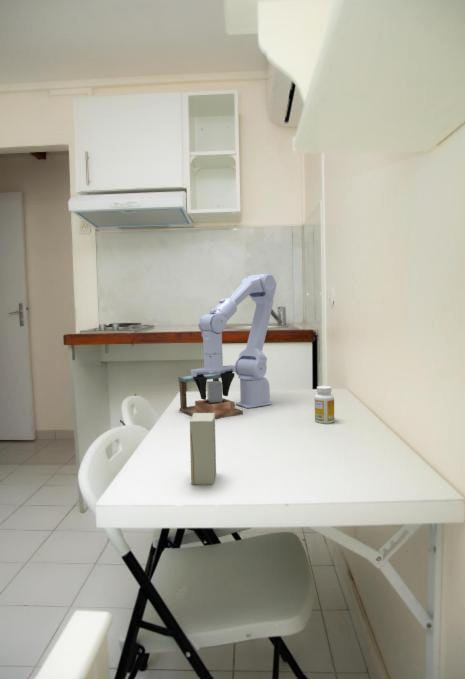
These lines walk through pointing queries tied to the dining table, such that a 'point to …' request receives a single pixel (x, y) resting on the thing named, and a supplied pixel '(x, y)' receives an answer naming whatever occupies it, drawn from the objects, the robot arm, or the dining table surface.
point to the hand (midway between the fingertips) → (214, 397)
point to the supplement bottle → (324, 405)
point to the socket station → (206, 401)
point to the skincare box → (203, 448)
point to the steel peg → (214, 392)
